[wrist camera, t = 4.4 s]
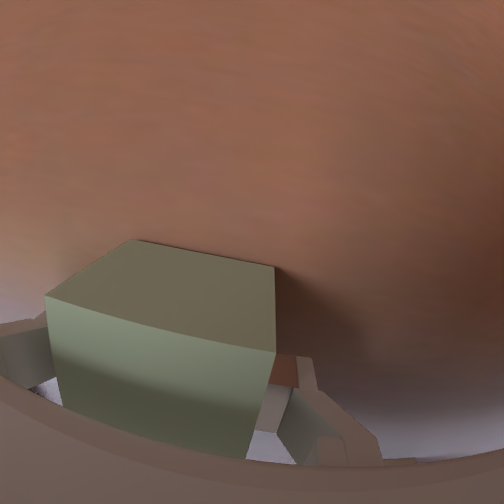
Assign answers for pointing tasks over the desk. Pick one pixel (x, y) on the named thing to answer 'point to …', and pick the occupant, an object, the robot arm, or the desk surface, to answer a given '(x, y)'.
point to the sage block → (166, 344)
